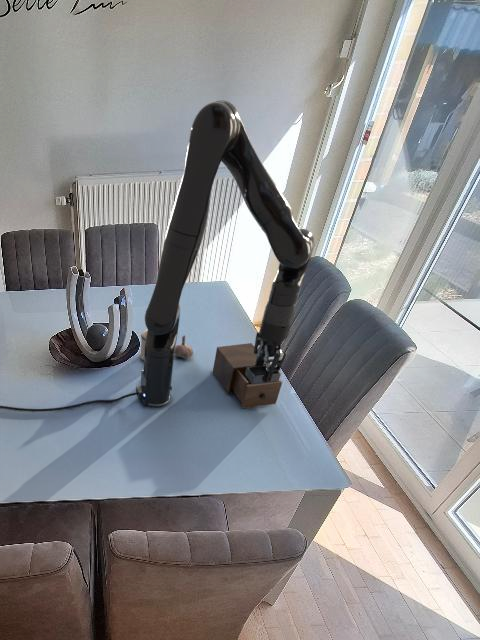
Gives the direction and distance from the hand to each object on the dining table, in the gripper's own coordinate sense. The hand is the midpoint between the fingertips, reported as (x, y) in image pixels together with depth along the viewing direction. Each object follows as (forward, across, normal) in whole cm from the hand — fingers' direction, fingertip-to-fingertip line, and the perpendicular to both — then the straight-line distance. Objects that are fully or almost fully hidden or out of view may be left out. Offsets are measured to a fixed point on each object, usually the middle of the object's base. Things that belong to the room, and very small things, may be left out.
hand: (262, 376), depth 132 cm
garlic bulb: (+16, -44, -9) cm, 47 cm away
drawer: (+14, -12, +5) cm, 19 cm away
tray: (+1, 0, 0) cm, 1 cm away
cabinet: (+15, -23, +5) cm, 28 cm away
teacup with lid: (+16, -46, -19) cm, 52 cm away
